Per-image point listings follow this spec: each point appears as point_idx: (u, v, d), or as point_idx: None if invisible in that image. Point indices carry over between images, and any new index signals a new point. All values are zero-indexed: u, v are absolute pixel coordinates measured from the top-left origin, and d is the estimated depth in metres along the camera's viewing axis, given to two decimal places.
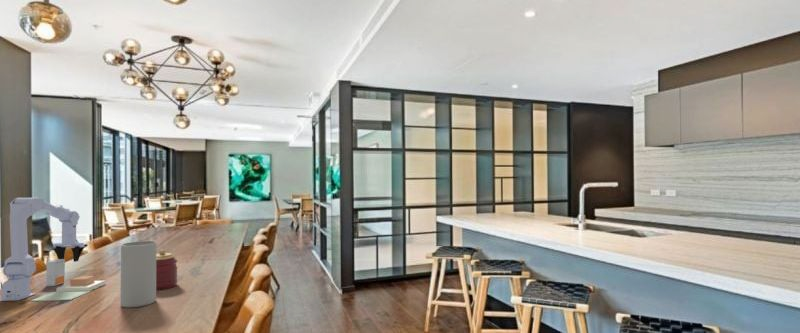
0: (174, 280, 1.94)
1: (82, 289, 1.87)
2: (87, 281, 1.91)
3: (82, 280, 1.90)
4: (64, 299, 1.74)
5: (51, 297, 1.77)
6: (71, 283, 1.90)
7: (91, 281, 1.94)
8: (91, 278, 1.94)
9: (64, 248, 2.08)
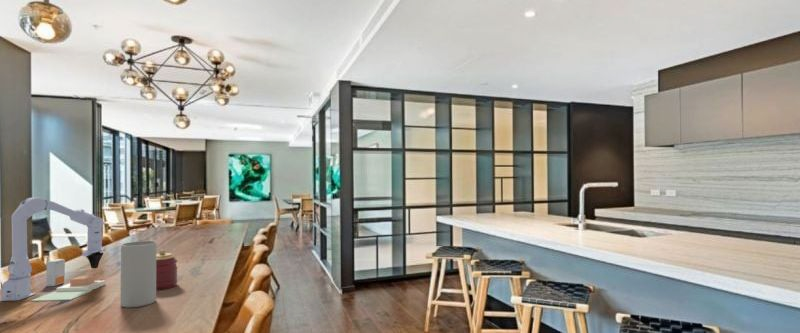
0: (174, 280, 1.94)
1: (82, 289, 1.87)
2: (87, 281, 1.91)
3: (82, 280, 1.90)
4: (64, 299, 1.74)
5: (51, 297, 1.77)
6: (71, 283, 1.90)
7: (91, 281, 1.94)
8: (91, 278, 1.94)
9: None
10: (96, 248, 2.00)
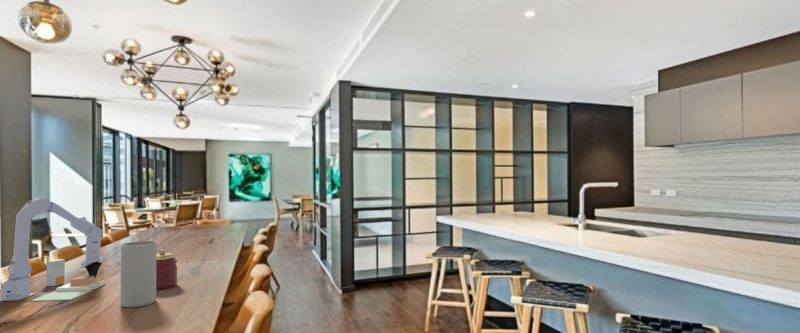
0: (174, 280, 1.94)
1: (82, 289, 1.87)
2: (87, 281, 1.91)
3: (82, 280, 1.90)
4: (64, 299, 1.74)
5: (51, 297, 1.77)
6: (71, 283, 1.90)
7: (91, 281, 1.94)
8: (91, 278, 1.94)
9: None
10: (95, 258, 1.99)
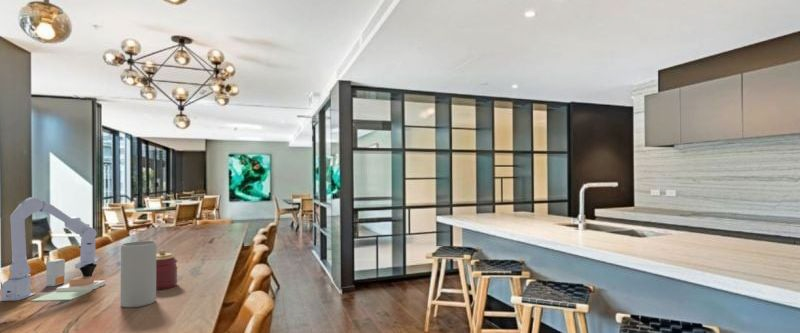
0: (174, 280, 1.94)
1: (82, 289, 1.87)
2: (86, 281, 1.91)
3: (81, 280, 1.90)
4: (64, 299, 1.74)
5: (51, 297, 1.77)
6: (70, 283, 1.89)
7: (90, 281, 1.94)
8: (90, 278, 1.94)
9: None
10: (89, 260, 1.95)
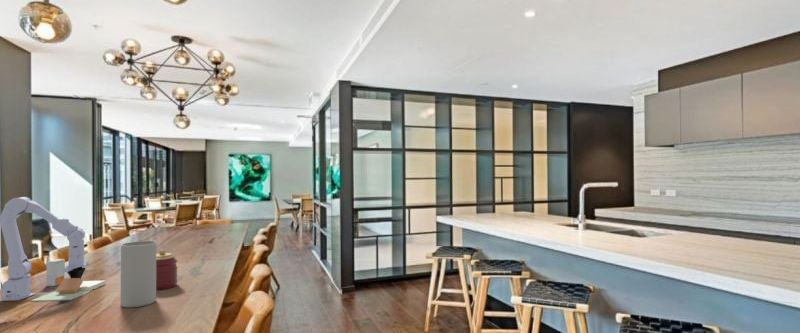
0: (174, 280, 1.94)
1: (82, 289, 1.87)
2: (75, 289, 1.83)
3: (69, 290, 1.82)
4: (64, 299, 1.74)
5: (51, 297, 1.77)
6: (59, 292, 1.82)
7: (79, 284, 1.86)
8: (78, 282, 1.85)
9: None
10: (78, 263, 1.87)
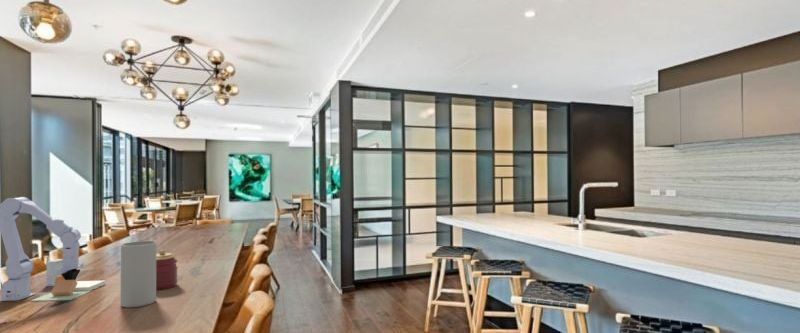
0: (174, 280, 1.94)
1: (82, 289, 1.87)
2: (70, 291, 1.80)
3: (65, 292, 1.78)
4: (64, 299, 1.74)
5: (51, 297, 1.77)
6: (54, 294, 1.78)
7: (74, 286, 1.82)
8: (73, 284, 1.81)
9: None
10: (72, 265, 1.84)
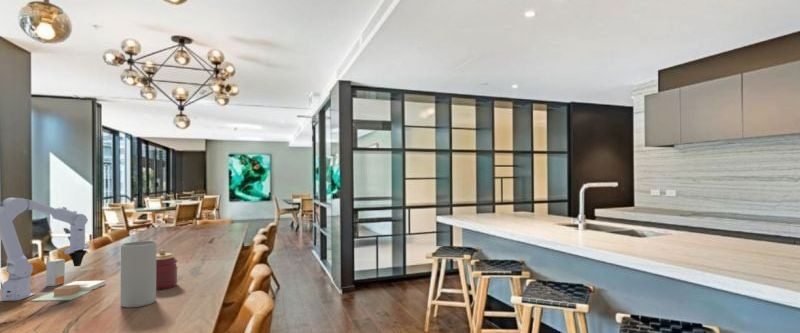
0: (174, 280, 1.94)
1: (82, 289, 1.87)
2: (72, 291, 1.81)
3: (67, 290, 1.80)
4: (64, 299, 1.74)
5: (51, 297, 1.77)
6: (55, 293, 1.79)
7: (76, 290, 1.84)
8: (76, 287, 1.84)
9: None
10: (79, 246, 1.97)
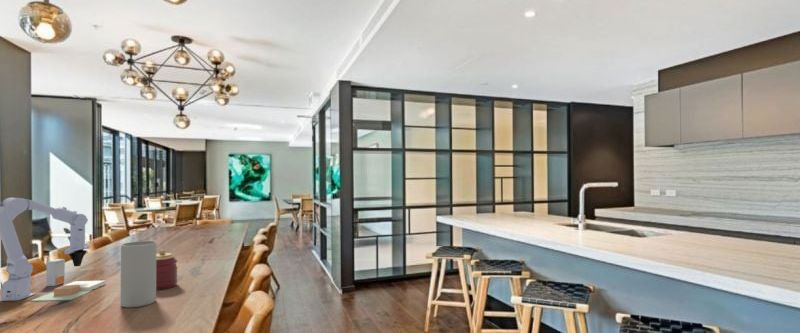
0: (174, 280, 1.94)
1: (82, 289, 1.87)
2: (72, 291, 1.81)
3: (67, 290, 1.80)
4: (64, 299, 1.74)
5: (51, 297, 1.77)
6: (55, 293, 1.79)
7: (76, 290, 1.84)
8: (76, 287, 1.84)
9: None
10: (79, 246, 1.97)
